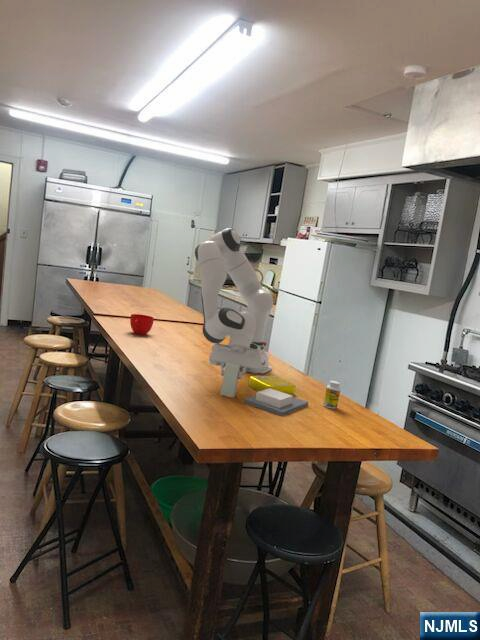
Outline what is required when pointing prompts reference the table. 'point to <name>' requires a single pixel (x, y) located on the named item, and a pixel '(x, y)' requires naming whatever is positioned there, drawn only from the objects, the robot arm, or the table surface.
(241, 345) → the robot arm
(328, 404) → the supplement bottle
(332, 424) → the table surface
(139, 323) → the ceramic cup
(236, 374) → the sage block
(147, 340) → the table surface
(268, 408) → the slate board
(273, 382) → the element tile
